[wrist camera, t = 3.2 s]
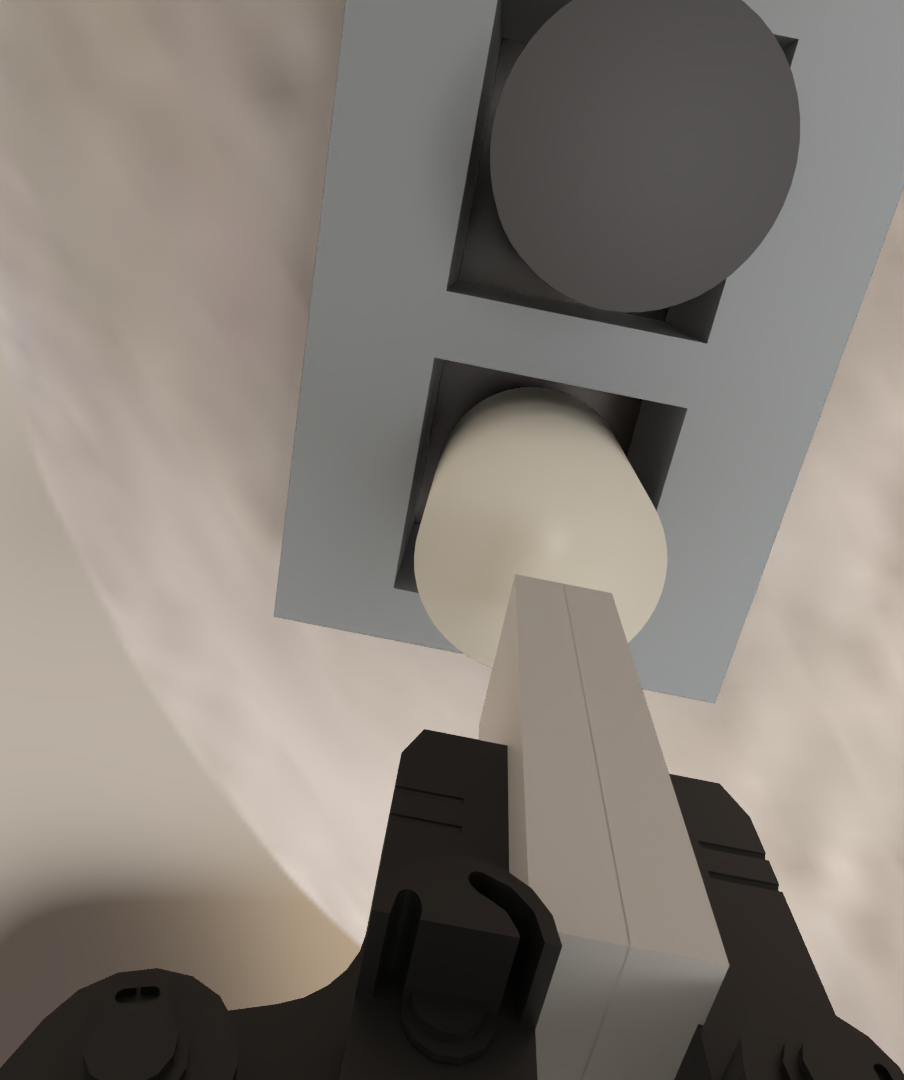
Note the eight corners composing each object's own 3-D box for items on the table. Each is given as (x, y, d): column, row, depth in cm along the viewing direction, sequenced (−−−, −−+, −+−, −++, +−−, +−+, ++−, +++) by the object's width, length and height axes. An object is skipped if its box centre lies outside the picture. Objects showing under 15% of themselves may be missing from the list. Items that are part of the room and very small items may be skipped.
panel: (452, -472, 17) (432, -743, 12) (997, -356, 17) (1184, -580, 12) (315, 547, 26) (273, 616, 21) (676, 619, 26) (714, 703, 21)
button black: (519, 36, 18) (526, -59, 12) (737, 81, 18) (847, 8, 12) (475, 269, 19) (463, 281, 14) (673, 309, 19) (742, 338, 14)
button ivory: (456, 369, 20) (438, 419, 15) (646, 407, 20) (699, 472, 15) (423, 546, 22) (395, 650, 16) (597, 580, 22) (629, 696, 17)
